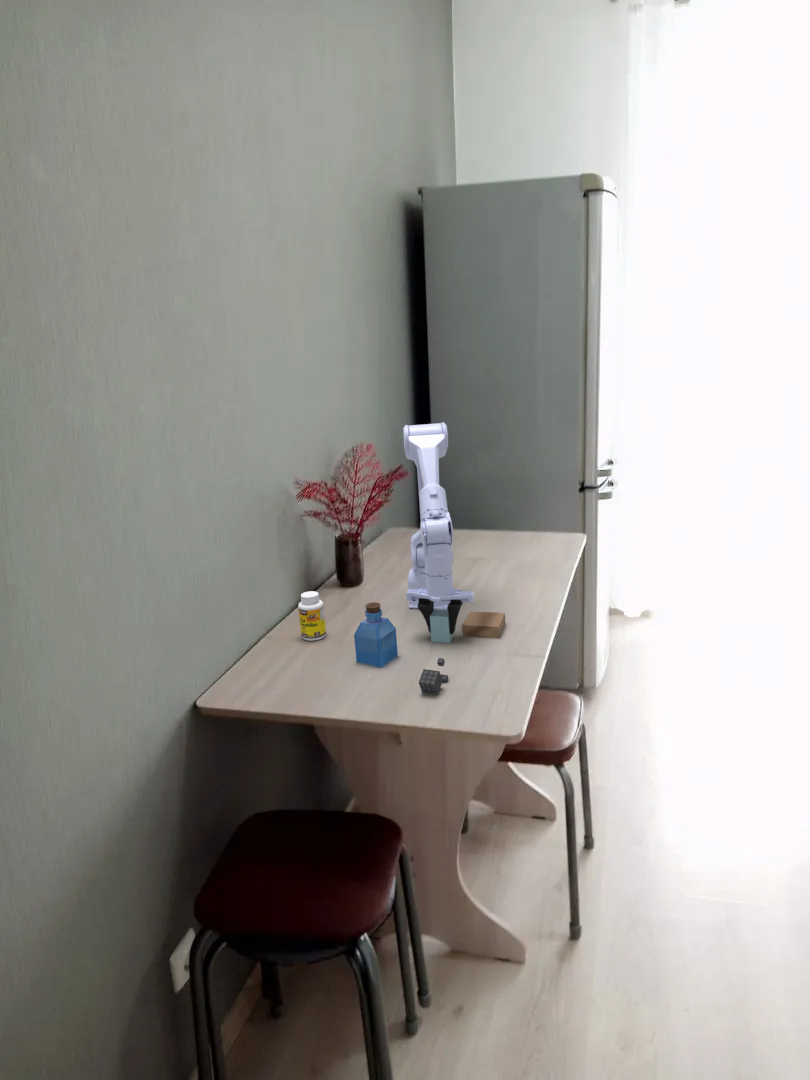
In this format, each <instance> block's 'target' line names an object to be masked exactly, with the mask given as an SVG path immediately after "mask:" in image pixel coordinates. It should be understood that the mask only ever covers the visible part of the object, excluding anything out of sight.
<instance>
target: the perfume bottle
mask: <svg viewBox="0 0 810 1080" xmlns="http://www.w3.org/2000/svg"><path fill="white" fill-rule="evenodd" d="M364 607H365V611H364V615H365V617H366V618H365V619H364V620H362V621H361V622H359V625H358V626H357V629H356V630H355V633H354V634H353V637H354V649H355V658H356V660H355V661H356V663H359V664H363V665H368V666H372V667H376V668H381V669H382V668H383V667H385V666H386V665H387V664H389V663H390V662H391V661H393V660H394V659H396V658H397V657H398V656H399V655H398V640H397V629H396V626H395V625H393V623H392V622H391V621H390V619H389V618H387V617H382V615H383V610H382V608H381V603H380V602H375V601H373V602H368V603H366V604H365V606H364Z"/></svg>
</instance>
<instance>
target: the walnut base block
mask: <svg viewBox="0 0 810 1080" xmlns="http://www.w3.org/2000/svg"><path fill="white" fill-rule="evenodd" d="M505 625H506V613H505V612H492V611H490V612H489V611H473V610H471V611H469V613H468V614H467V616H466V617H465V619H464V621H463V622H462V625H461V628H462V629H461V632H462V637H469V638H471V637H472V638H486V639H488V638H490V639H499V638H500V636H501V635H502V633H503V631H504V628H505Z"/></svg>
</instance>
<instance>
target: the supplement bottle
mask: <svg viewBox="0 0 810 1080" xmlns="http://www.w3.org/2000/svg"><path fill="white" fill-rule="evenodd" d="M300 600H301V601H300V602H299V603H298V605H297V607H298V617H299V625H300V636H301V638H302V639H303V640H305V641H309V642H313V641H319V640H321V639H323V638H325V637H326V635H327V629H326V628H327V627H326V617H325V607H324V601H322V600H321V599H320V594H319V592H318V591H313V590H311V591H310V590H309V591H305V592H302V593H301V594H300Z"/></svg>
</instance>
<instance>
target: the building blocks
mask: <svg viewBox="0 0 810 1080" xmlns="http://www.w3.org/2000/svg"><path fill="white" fill-rule="evenodd" d="M445 663H446V660H445V658H442V657H441V658H440V657H438V659H437V666H439V667H444V665H445ZM448 681H449V676H448V675H447V674H442V673H441V672H440V670H432V669H425V668H423V670H422V673H421V676H420V678H419V680H418V685H419V687H420V690H421V692H422V693H425V694H432V695H438V694H439V693H440V690H441V687H442V685H443V683H448Z"/></svg>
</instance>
